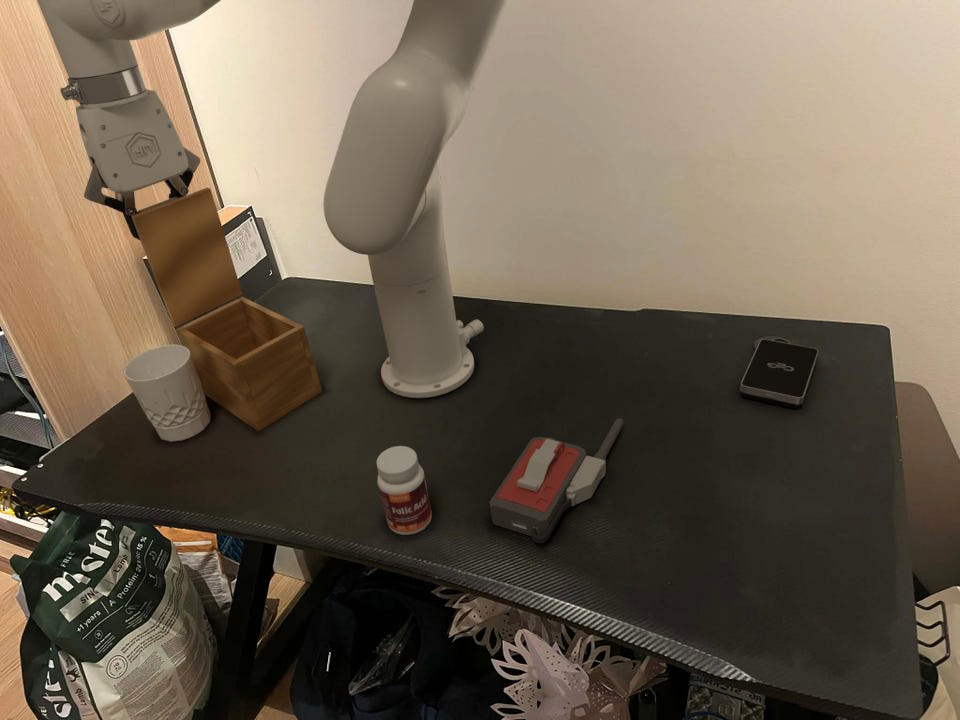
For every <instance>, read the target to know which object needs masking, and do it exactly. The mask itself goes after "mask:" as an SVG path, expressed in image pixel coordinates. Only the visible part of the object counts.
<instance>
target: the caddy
mask: <svg viewBox="0 0 960 720" xmlns="http://www.w3.org/2000/svg"><path fill="white" fill-rule="evenodd" d="M175 331H176V334H177V336H178V338H179V341H180V343H181V344H180V345H182V346H185V347H187V348H188V349H189V350H190V353H191V356H192V359H193V362H194V365H195V367H196V370H197V373H198V376H199V379H200V382H201V385H202V389H203V391H204V394H205V397H206V398H209V399H210V400H212V401H213V402H215V404H218V405H219V406H221V407H222V408H223V409H224V410H226V411H227V412H229V413H231V414H232V415H234V416H235V417H237V418H238V419H240V420H241V421H242V422H244V423H245V424H247V425H248V426H250V427H251V428H253V429H254V430H255V431H257V432H260V431H262V430H264V429H265V428H267V427H268V426H269V425H271V424H273V423H275V422H276V421H278V420H280V419H281V418H282V417H284V416H286V415H288V414H290V413H291V412H293V411H294V410H295V409H297V408H299V407H301V406H302V405H304V404H305V403H307V402H309V401H310V400H312V399H313V398H315V397H316V396H318V395H319V394H321V393H323V388H322V384H321V382H320V381H321V380H320V379H319V375H318V372H317V368H316V365H315V361H314V358H313V354H312V351H311V347H310V344H309V340H308V336H307V333H306V330H305V326H304V325H301V324H299V323H297V322H295V321H293V320H292V319H289V318H287V317H285V316H283V315H281V314H279V313H277V312H275V311H273V310H271V309H268V308H266V307H264V306H262V305H260V304H258V303H257V302H254V301H252V300H250V299H248V298H246V297H244V296H240V297H239V298H236V299H235V300H232V301H231V302H230V301H229V302H227V304H226V303H225V305H224V304H223V305H221V306H219V307H217V308H216V309H214V310H212V311H209V312H207V313H205V314H203V315H201V316H199V317H197V318H195V319H194V320H191V321H189V322H188V323H187V322H186V323H184V324H182V325H180V326H179V327H177V328H175Z"/></svg>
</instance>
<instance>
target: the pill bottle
mask: <svg viewBox="0 0 960 720" xmlns="http://www.w3.org/2000/svg"><path fill="white" fill-rule="evenodd" d="M376 468H377V474H378V475H377V478H376V479H377V481H376V482H377V487H378V491H379V495H380V500H381V503H382V507H383V512H384V515H385V519H386V523H387V526H388V528H389V529H390V530H391V531H392V532H393V533H395V534H397V535H401V536H410V535H414V534H417V533H420V532H422V531H424V530H425V529H426V528H427V527H428V526H429V525H430V523H431V521H432V518H433V512H432V506H431V501H430V496H429V491H428V486H427V481H426V475H425V471H424V469H423V467H422V466H421V465H420V463H419V459H418V455H417V453H416V451H415V450H414V449H413V448H412V447H409V446H405V445H397V446H391V447H389V448H387V449H385V450H383V451H382V452H381V453H380V454H379V455H378V457H377V459H376Z"/></svg>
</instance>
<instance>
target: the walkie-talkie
mask: <svg viewBox="0 0 960 720" xmlns="http://www.w3.org/2000/svg"><path fill="white" fill-rule="evenodd" d="M624 424H625V422H624V419H622V418H616V419H615V421H614V422H613V424H612V426H611V427H610V430H608V433H607V435H606V437H605V438H604V440H603V442H602V444H601V445H600V447H599V449H598V451H597V452H595V454H594V455H593V456H589V455H587V452H586V449H584V448H582V447H581V446H579V445H575V444H571V443H567V442H563V441H559V440H557V439H555V438H554V437H543V436H537V437H532V438H531V439H530V441H529V442H528V443H527V445H526V446H525V448H524V449H523V450H522V452H521V453H520V455H519V456H518V458H517V459H516V461H515V463H514V465H513V466H512V467H511V469H509V472H508V473H507V475H506V476H505V478H504V479H503V480H502V482H501V483H500V485H499V486H498V488H497V490H496V491H495V493H493V496H492V497H491V498H490V500H489V501H488V503H489V510H490V516H491V517H490V518H491V521H492V523H493V525H495V526H498V527H501V528H504V529H507V530H511V531H513V532H516V533H520V534H521V535H522V534H523V535H526V536H529V537H531V538H532V541H533V542H535V543H537V544H543V543H546V541H548V539H549V538H550V537H551V535H552V533H553V531H554V529H555V527H556V526H557V524H558V522H559V521H560V519H561V517H562V516H563V513H564V512H565V511H566V510H567V509H568V508H570V507H574V506H576V505H578V504H581V503H582V502H584V501H587V500H589V499H591V498H593V495H594V493H595V491H596V490H597V488H598V486H599V484H600V483H601V480H602V479H603V478H605V475H606V473H607V461H606V460H607V456H608V455H609V453H610V450H611V449H612V447H613V446H614V443H615V442H616V440H617V437H618V436H619V433H620V432H621V430H622V428H623V426H624Z"/></svg>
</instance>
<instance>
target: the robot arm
mask: <svg viewBox="0 0 960 720" xmlns="http://www.w3.org/2000/svg"><path fill="white" fill-rule="evenodd" d="M36 1H37V4H38V6H39V8H40V12H41V13H42V17H43V19H44V21H45V23H46V25H47V28H48V30H49V33H50V35H51V37H52V40H53V43H54V45H55V47H56V50H57V52H58V55H59V57H60V59H61V62H62V64H63V67H64V69H65V71H66V74H67V76H68V78H67V82H68V84H67V85H66V86H65V87H61V88H59V91H60V94H61V96H62V98H63V99H64V100H65V101H67V102H68V101H71V100H72V101H76V103H79V106H78V105H77V106H76V107H75V113H76V118H77V123H78V128H79V131H80V135H81V140H82V144H83V147H84V149H85V153H86V156H87V159H88V161H89V165H90V167H91V170H90V171H91V172H90V175H89V177H88V179H87V184H86V186H85V190H84V193H83V197H84V198H85V200H87V201H90V202H93V203H95V204H99V205H102V206H105V207H109V208H111V209H113V210H115V211H118V212H120V213H122V215H123V217H124V220H125V222H126V224H127V227H128V229H129V232H130V234H131V236H132V237H133V238H134V239H137V241H140V238H139V236H138V233H137V230H136V228H135V225H134V222H133V220H132V217H131V216H133V215H135V214H138V213H139V212H138V210H137V207H136V197H135V192H136V191H140V190H143V189H146V188H148V187H151V186H153V185H156V184H159V183H162V182H163V183H165V185H166V186H167V188H168V189H169V193H168V197H167V198H168V199H170V198H173V197H177V198H181V197H183V196H186V195H189V194H190V193H189V191H190V190H189V188H190V185H191V182H192V180H193V178H194V174H195V173H196V171H197V169H198V167H199V166H200V164H201V158H200V156H198V155H196V154H195V153H193V152H192V151H191V150H189V149H187V148H186V147H184V146H183V143H182V141H181V139H180V136H179V134H178V132H177V130H176V128H175V125H174V124H173V121H172V119H171V117H170V115H169V113H168V111H167V109H166V107H165V105H164V104H163V102H162V100H161V98H160V96H159V95H158V93H157V92H156V90H152V89H148V88H147V84H146V81H145V80H144V76H143V74H142V70H141V68H140V65H139V63H138V60H137V57H136V55H135V52H134V49H133V46H132V43H131V41H139V40H142V39H145V38H149V37H152V36H154V35H157V34H160V33H162V32H164V31H165V32H166V31H168V30H170V29H173V28H176V27H180V26H183V25H185V24H186V25H187V23H190V22H192V21H194V20H195V19H197V18H198V17H200V16H202V15H203V14H205V13H206V12H208V11H209V10H210V9H211V8H213V7H214V6H215V5H216V4H218V3H219V2H221V1H222V0H36ZM507 3H508V0H413V1H412V5H411V9H410V13H409V16H408V18H407V20H406V24H405V26H404V30H403V32H402V35H401V37H400V39H399V43H398V45H397V46H396V48H395V51H394V53H393V54H392V55H391V56H390V58H388V59H387V60H386V61H385V62H383V63H382V64H381V65H380V66H379V67H378V68H376V69H375V70H373V72H371V73H370V74H369V75H368V76H367V78H366V79H365V80H364V81H363V83H362V84H361V86H360V88H359V89H358V91H357V92H356V94H355V97H354V99H353V101H352V104H351V106H350V108H349V111H348V114H347V117H346V120H345V123H344V127H343V129H342V133H341V136H340V140H339V143H338V146H337V149H336V152H335V155H334V159H333V162H332V165H331V168H330V171H329V175H328V178H327V181H326V185H325V189H324V192H323V193H324V194H323V201H322V202H323V204H322V207H323V213H324V214H323V215H324V219H325V223H326V225H327V227H328V230H329V231H330V233H331V235H332V236H333V237H334V239H335V240H336V241H337V242H338V243H339V244H340V245H342V246H343V247H344V248H346V249H347V250H349V251H351V252H353V253H356V254H359V255H366V256H367V258H368V265H369V268H370V275H371V279H372V284H373V289H374V293H375V298H376V302H377V307H378V312H379V317H380V321H381V326H382V330H383V335H384V339H385V343H386V348H387V353H388V357H387V358H386V359H385V361H384V362H383V363H382V365H381V368H380V376H381V381H382V383H383V385H384V387H385V388H386V389H388V391H390V392H392V393H394V394H395V395H398V396H401V397H404V398H411V399H425V398H426V399H427V398H433V397H438V396H441V395H445V394H447V393H450V392H453V391H454V390H456V389H458V388H460V387H461V386H462V385H463V384H465V383H466V382H467V381H468V380H469V379H470V378H471V376H472V375H473V374H474V370H475V359H474V355H473V353H472V351H471V350H470V349H469V348H468V347H467V345H468V344H469V343H470V342H471V341H470V339H472V338H474V337H476V336H478V335H479V334H481V333H482V332H483V331H484V330H485V329H484V328H485V326H484V324H483V322H482V321H480V320H479V319H474V320H472V321H470V322H469V323H467V324H466V326H464V323H463V321H462V320H460V319H457V316H456V310H455V301H454V296H453V295H454V294H453V289H452V282H451V276H450V270H449V261H448V253H447V246H446V238H445V230H444V229H445V228H444V216H443V213H444V211H443V188H442V179H441V178H442V177H441V172H440V168H439V165H438V161H439V159H440V157H441V155H442V152H443V149H444V148H445V146H446V145H447V143H448V141H449V140H450V139H451V137H452V136H453V135H454V133H455V132H456V131H457V129H458V128H459V126H460V125H461V123H462V121H463V119H464V116H465V114H466V112H467V108H468V105H469V102H470V99H471V97H472V93H473V91H474V88H475V85H476V83H477V80H478V77H479V75H480V73H481V71H482V68H483V65H484V63H485V60H486V58H487V56H488V53H489V50H490V47H491V46H492V45H491V44H492V42H493V39H494V36H495V34H496V32H497V28H498V26H499V23H500V20H501V18H502V17H503V16H502V15H503V13H504V11H505V8H506V6H507ZM102 189H109V190H110V191H111V192H114V197H112V196H109V195H107V194H105V193H103V191H102Z"/></svg>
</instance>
